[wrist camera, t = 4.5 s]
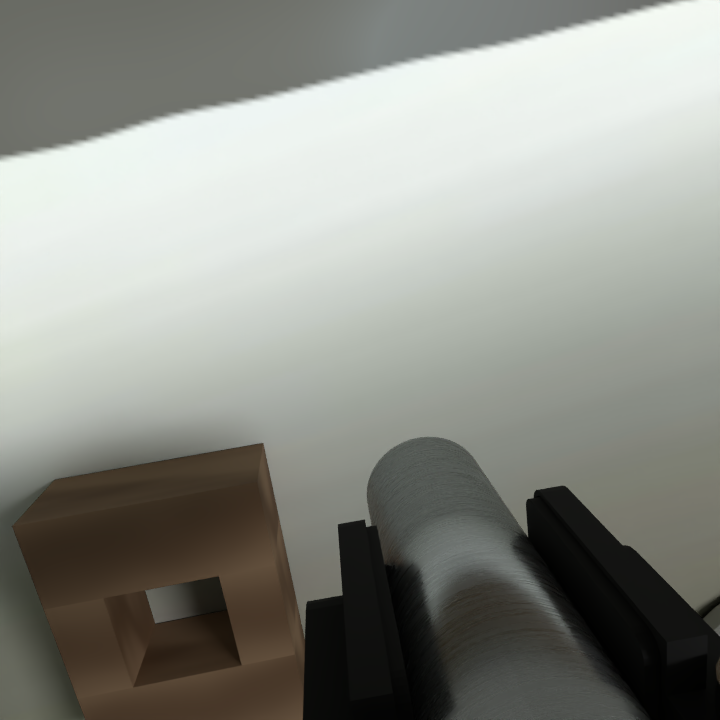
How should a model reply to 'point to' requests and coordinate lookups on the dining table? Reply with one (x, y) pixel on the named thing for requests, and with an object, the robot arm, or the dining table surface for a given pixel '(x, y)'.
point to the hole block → (164, 568)
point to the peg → (481, 600)
